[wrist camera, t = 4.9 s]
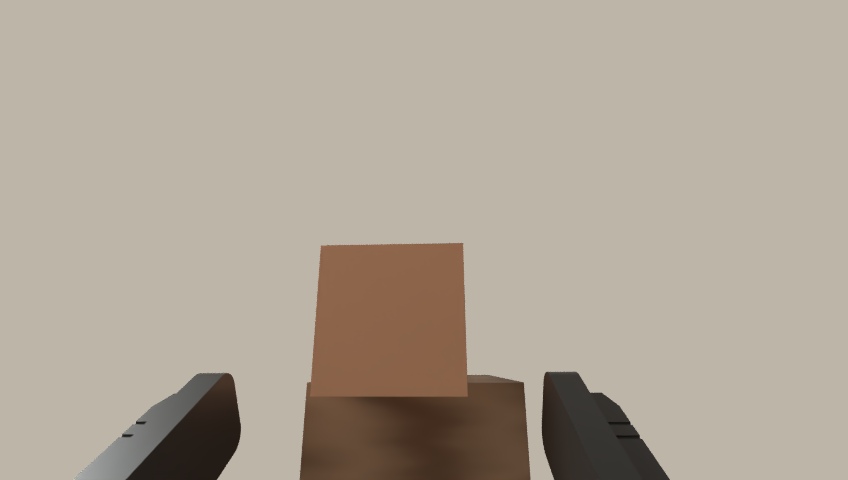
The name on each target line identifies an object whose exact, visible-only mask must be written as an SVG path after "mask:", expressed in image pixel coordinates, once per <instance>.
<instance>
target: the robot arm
mask: <svg viewBox="0 0 848 480" xmlns="http://www.w3.org/2000/svg"><path fill="white" fill-rule="evenodd" d="M240 433H241V424H240V417H239V411H238V404H237V397H236V391H235V384H234V380H233V377H232V375H231V374H229V373H203V374H202V373H200V374H197V375H196V376H194V377H193V378H192V379H191V380H190V381H189V382H188V383H187V384H186V385H185V386H184V387H183V388H182V389H181V390H180V391H179V392H178V393H177V394H173V395H171V396H170V397H168V398H166V399H165V400H163V401H161V402H159V403H158V404H156V405H154V406H153V407H151V408H150V409H149V410H148V411H147V412H146V413H145V414H144V415H143V416H142V417H141V418H139V419H138V420H137V421H136V424H135V425H132V426H131V427H130V428H129V429H128V430H126V431H125V432H124V433H123V434H122V437H121V438H118V439H117V440H116V441H114V442H113V443H112V444H111V445H110V446H109V447H108V448H107V449H106V450H105V451H104V452H103V453H101V454H100V455H99V456H98V457H97V458H96V459H95V460H94V461H93V462H92V463H91V464H90V465H88V466H87V467H86V468H85V469H84V470H83V471H82V472H81V473H80V474H79V475H78V476H76V477H75V478H74V479H73V480H217V479H218V477H219V476H220V474H221V473H222V471H223V470H224V468H225V467H226V465H227V464H228V462H229V460H230V459H231V457H232V456H233V454H234V453H235V451H236V449H237V446H238V443H239V440H240ZM542 438H543V445H544V450H545V454H546V457H547V460H548V463H549V466H550V469H551V472H552V475H553V477H554V480H670V479H669V478H668V476H667V475H666V473H665V472H664V470H663V469H662V468H661V466H660V465H659V463H658V462H657V460H656V459H655V457H654V456H653V454H652V453H651V451H650V450H649V449H648V447H647V446H646V444H645V443H644V441H643V440H642V439H640V435H639V434H638V432H637V431H636V430H635V428H634V427H633V425H631V424H630V421H629V419H628V418H627V417H626V415H625V413H624V412H623V411H622V409H621V408H620V406H619V405H617V404H616V403H615V402H613V401H612V400H611V399H609V398H608V397H607V396H605V395H604V394H603V393H590V392H589V391H588V389H587V387H586V385H585V384H584V382H583V381H582V379H581V377H580V376H579V374H578V373H577V372H546V373H545V376H544V386H543V410H542Z"/></svg>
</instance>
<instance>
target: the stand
mask: <svg viewBox="0 0 848 480" xmlns="http://www.w3.org/2000/svg"><path fill="white" fill-rule="evenodd" d="M310 390H311V382H309V383H307V392H306V405H305V418H304V431H303V444H302V458H301V471H300V480H530V467H529V451H528V437H527V422H526V408H525V394H524V383H523V382H519V381H514V380H509V379H505V378H499V377H495V376H490V375H467V390H468V397H333V396H310Z"/></svg>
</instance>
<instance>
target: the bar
mask: <svg viewBox="0 0 848 480" xmlns="http://www.w3.org/2000/svg"><path fill="white" fill-rule="evenodd" d="M310 396H333V397H468V390H467V358H466V327H465V294H464V262H463V243H449V244H390V245H388V244H387V245H331V246H330V245H327V246H321V254H320V267H319V281H318V294H317V308H316V322H315V336H314V349H313V363H312V376H311V390H310Z"/></svg>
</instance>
